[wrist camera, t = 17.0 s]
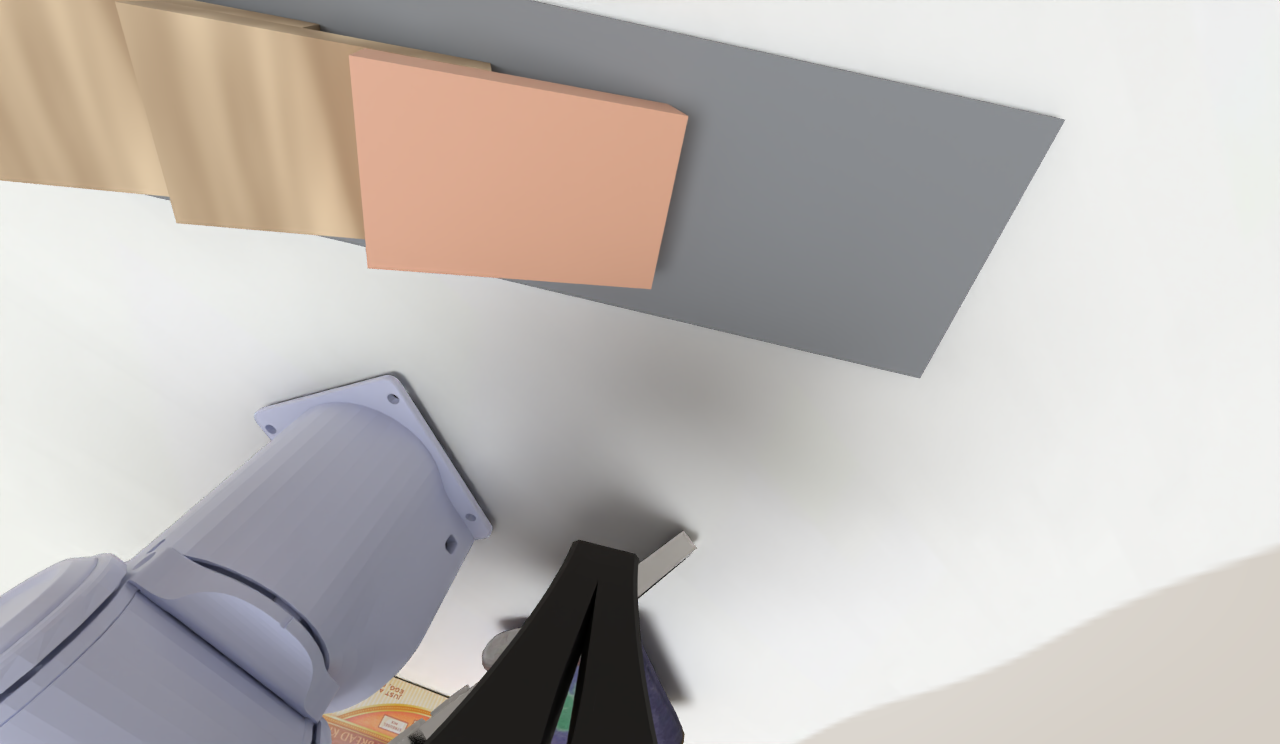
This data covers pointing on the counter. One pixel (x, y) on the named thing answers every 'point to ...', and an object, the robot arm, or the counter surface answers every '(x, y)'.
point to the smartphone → (648, 576)
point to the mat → (764, 173)
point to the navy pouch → (661, 708)
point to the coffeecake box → (383, 714)
